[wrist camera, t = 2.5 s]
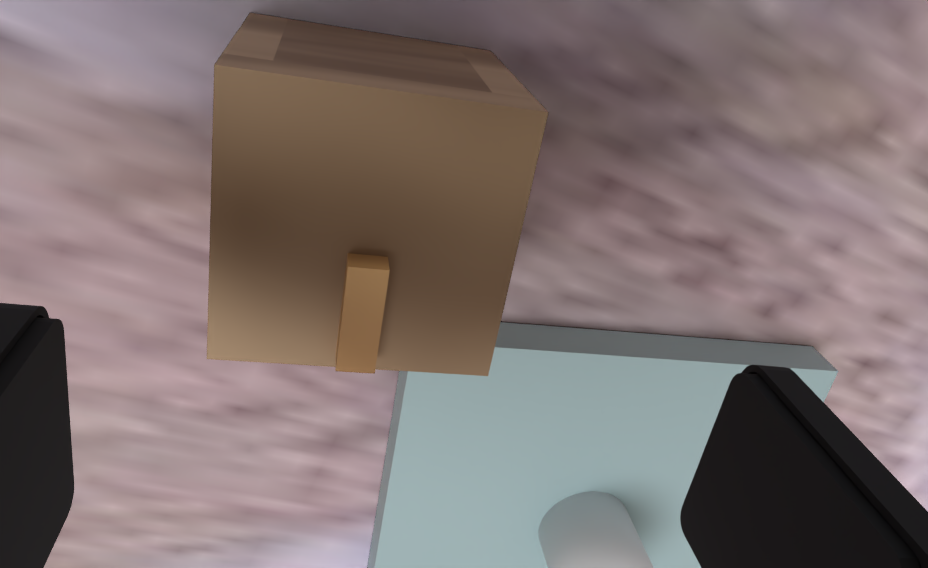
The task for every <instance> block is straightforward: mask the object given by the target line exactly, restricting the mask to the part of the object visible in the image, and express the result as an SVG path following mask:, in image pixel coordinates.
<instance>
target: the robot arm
mask: <svg viewBox="0 0 928 568" xmlns="http://www.w3.org/2000/svg"><path fill="white" fill-rule="evenodd" d="M73 493H74V475H73V460H72V445H71V430H70V415H69V400H68V385H67V370H66V354H65V339H64V328H63V324H62V321H61V320H60V319H50V318H49V316H48V313H47V311H46V309H45V308H44V307H43V306H31V305H18V304H6V303H0V568H43V567H44V565H45V563H46V561H47V559H48V557H49V554H50V552H51V550H52V548H53V546H54V544H55V542H56V539H57V537H58V535H59V533H60V531H61V529H62V527H63V524H64V522H65V520H66V518H67V516H68V513H69V511H70V508H71V504H72V499H73ZM680 522H681V528H682V531H683V534H684V536H685V538H686V540H687V541H688V543H689V545H690V547H691V549H692V551H693V553H694V555H695V557H696V558H697V560H698V562H699V564H700V566H701V568H928V512H927V511H926V509H925V508H924V507H923V506H922V505H921V504H920V503H919V502H918V501H917V500H916V499H915V498H914V497H913V496H912V495H911V494H910V493H909V492H908V491H907V490H906V488H905V487H904V486H903V485H902V484H901V483H900V482H899V481H898V480H897V479H896V478H895V477H894V476H893V475H892V474H891V473H890V472H889V471H888V470H887V469H886V468H885V466H884V465H883V464H882V463H881V462H880V461H879V460H878V459H877V458H876V457H875V456H874V455H873V454H872V453H871V452H870V451H869V450H868V449H867V448H866V447H865V445H864V444H863V443H862V442H861V441H860V440H859V439H858V438H857V437H856V436H855V435H854V434H853V433H852V432H851V431H850V430H849V429H848V428H847V427H846V426H845V425H844V423H843V422H842V421H841V420H840V419H839V418H838V417H837V416H836V415H835V414H834V413H833V412H832V411H831V410H830V409H829V408H828V407H827V406H826V405H825V404H824V402H823V401H822V400H821V399H820V398H819V397H818V396H817V395H816V394H815V393H814V392H813V391H812V390H811V389H810V388H809V387H808V386H807V385H806V384H805V383H804V382H803V380H802V379H801V378H800V377H799V376H798V375H797V374H796V373H795V372H794V371H793V370H791V369H790V368H786V367H777V366H765V365H749V366H747V367H746V368H745V369H744V370H743V371H742V373H738V374H736V375H735V376H734V377H733V378H732V380H731V382H730V384H729V387H728V390H727V392H726V395H725V397H724V400H723V402H722V405H721V408H720V410H719V413H718V415H717V418H716V420H715V423H714V426H713V428H712V431H711V433H710V436H709V438H708V441H707V444H706V446H705V449H704V451H703V454H702V456H701V459H700V462H699V464H698V467H697V469H696V472H695V474H694V477H693V480H692V482H691V485H690V487H689V490H688V492H687V495H686V498H685V500H684V503H683V505H682V509H681V514H680Z"/></svg>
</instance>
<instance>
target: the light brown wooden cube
mask: <svg viewBox="0 0 928 568" xmlns="http://www.w3.org/2000/svg"><path fill="white" fill-rule="evenodd" d="M547 116H548V111H547V110H546V109H545V108H544V107H543V106H542V105H541V104H540V103H539V102H538V101H537V100H536V99H535V97H534V96H533V95H532V94H531V93H530V92H529V91H528V90H527V89H526V88H525V87H524V86H523V85H522V84H521V83H520V81H519V80H518V79H517V78H516V77H515V76H514V75H513V74H512V73H511V72H510V71H509V70H508V69H507V68H506V67H505V66H504V64H503V63H502V62H501V61H500V60H499V59H498V58H497V57H496V56H495V55H494V54H493V53H492V52H491V51H489V50H483V49H477V48H470V47H464V46H458V45H451V44H445V43H439V42H433V41H426V40H420V39H414V38H407V37H401V36H395V35H388V34H382V33H376V32H369V31H363V30H357V29H350V28H344V27H338V26H331V25H325V24H319V23H312V22H306V21H300V20H293V19H287V18H281V17H274V16H268V15H262V14H256V13H249V15H248V16H247V18H246V19H245V21H244V22H243V24H242V25H241V27H240V28H239V30H238V31H237V32H236V34H235V35H234V37H233V38H232V40H231V41H230V43H229V44H228V46H227V47H226V48H225V50H224V51H223V53H222V54H221V56H220V57H219V59H218V60H217V62H216V63H215V65H214V99H213V138H212V177H211V216H210V255H209V294H208V332H207V359H216V360H232V361H249V362H265V363H281V364H298V365H314V366H330V367H336V371H342V372H359V373H375V369H379V370H395V371H411V372H428V373H444V374H460V375H476V376H488V375H489V370H490V366H491V362H492V357H493V353H494V348H495V344H496V340H497V335H498V331H499V326H500V322H501V318H502V313H503V309H504V305H505V300H506V296H507V291H508V287H509V283H510V278H511V274H512V270H513V265H514V261H515V256H516V252H517V248H518V243H519V239H520V235H521V230H522V226H523V221H524V217H525V213H526V208H527V204H528V199H529V195H530V191H531V186H532V182H533V178H534V173H535V169H536V164H537V160H538V156H539V151H540V147H541V143H542V138H543V134H544V129H545V125H546V121H547Z"/></svg>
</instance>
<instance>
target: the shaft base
mask: <svg viewBox="0 0 928 568" xmlns="http://www.w3.org/2000/svg"><path fill="white" fill-rule="evenodd" d="M749 365H765V366H777V367H786V368H790V369H791V370H793V371H794V372H795V373H796V374H797V375H798V376H799V377H800V378H801V379H802V380H803V382H804V383H805V384H806V385H807V386H808V387H809V388H810V389H811V390H812V391H813V392H814V393H815V394H816V395H817V396H818V397H819V398H820V399H821V400H822V401H823V402H824V400H825V398H826V396H827V394H828V392H829V390H830V388H831V386H832V383H833V381H834V379H835V377H836V375H837V373H838V371H837V370H836V369H835V368H834V367H833V366H832V365H831V364H830V363H829V362H828V361H827V360H826V359H825V358H824V357H823V356H822V355H821V354H820V353H819V352H818V351H817V350H816V349H815V348H814V347H813V346H800V345H787V344H775V343H762V342H749V341H736V340H723V339H710V338H697V337H685V336H672V335H659V334H646V333H633V332H620V331H608V330H595V329H582V328H569V327H556V326H543V325H530V324H518V323H505V322H500V326H499V331H498V335H497V340H496V344H495V348H494V353H493V357H492V362H491V366H490V370H489V375H488V376H476V375H460V374H444V373H428V372H411V371H399V376H398V382H397V388H396V394H395V400H394V407H393V413H392V419H391V425H390V431H389V437H388V443H387V449H386V455H385V461H384V468H383V474H382V480H381V486H380V492H379V498H378V504H377V510H376V516H375V522H374V529H373V535H372V541H371V547H370V553H369V559H368V565H367V568H701V566H700V564H699V562H698V560H697V558H696V557H695V555H694V553H693V551H692V549H691V547H690V545H689V543H688V541H687V540H686V538H685V536H684V534H683V531H682V528H681V522H680V514H681V509H682V505H683V503H684V500H685V498H686V495H687V492H688V490H689V487H690V485H691V482H692V480H693V477H694V474H695V472H696V469H697V467H698V464H699V462H700V459H701V456H702V454H703V451H704V449H705V446H706V444H707V441H708V438H709V436H710V433H711V431H712V428H713V426H714V423H715V420H716V418H717V415H718V413H719V410H720V408H721V405H722V402H723V400H724V397H725V395H726V392H727V390H728V387H729V384H730V382H731V380H732V378H733V377H734V376H735V375H736V374H738V373H742V371H743V370H744V369H745V368H746V367H747V366H749Z"/></svg>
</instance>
